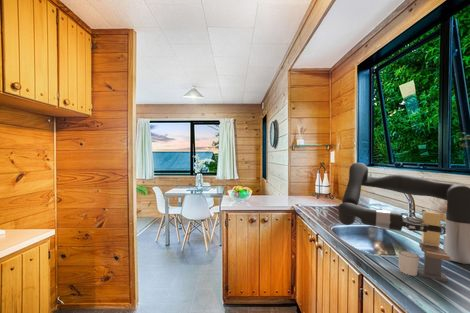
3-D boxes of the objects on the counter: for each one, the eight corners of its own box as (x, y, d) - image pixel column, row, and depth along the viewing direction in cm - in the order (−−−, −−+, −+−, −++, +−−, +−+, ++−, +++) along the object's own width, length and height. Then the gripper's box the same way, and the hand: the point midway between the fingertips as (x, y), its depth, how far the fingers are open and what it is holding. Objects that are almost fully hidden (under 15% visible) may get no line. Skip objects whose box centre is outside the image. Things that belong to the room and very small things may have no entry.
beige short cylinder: (394, 266, 99) (395, 249, 99) (414, 269, 97) (415, 252, 97) (401, 274, 92) (401, 256, 92) (422, 277, 90) (423, 258, 90)
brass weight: (439, 245, 93) (440, 214, 94) (423, 242, 96) (424, 212, 97) (437, 243, 97) (438, 213, 98) (421, 240, 100) (422, 211, 101)
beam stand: (447, 281, 88) (448, 258, 88) (419, 275, 92) (420, 253, 92) (444, 276, 92) (445, 254, 92) (418, 270, 96) (418, 249, 96)
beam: (451, 261, 82) (451, 256, 82) (425, 256, 85) (425, 252, 85) (439, 249, 99) (439, 245, 99) (418, 245, 102) (418, 242, 102)
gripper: (387, 224, 111) (435, 232, 102) (388, 233, 98) (442, 242, 90) (388, 208, 111) (436, 214, 102) (389, 214, 98) (443, 222, 90)
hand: (439, 227), depth 96 cm, fingers closed on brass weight, 5 cm apart
